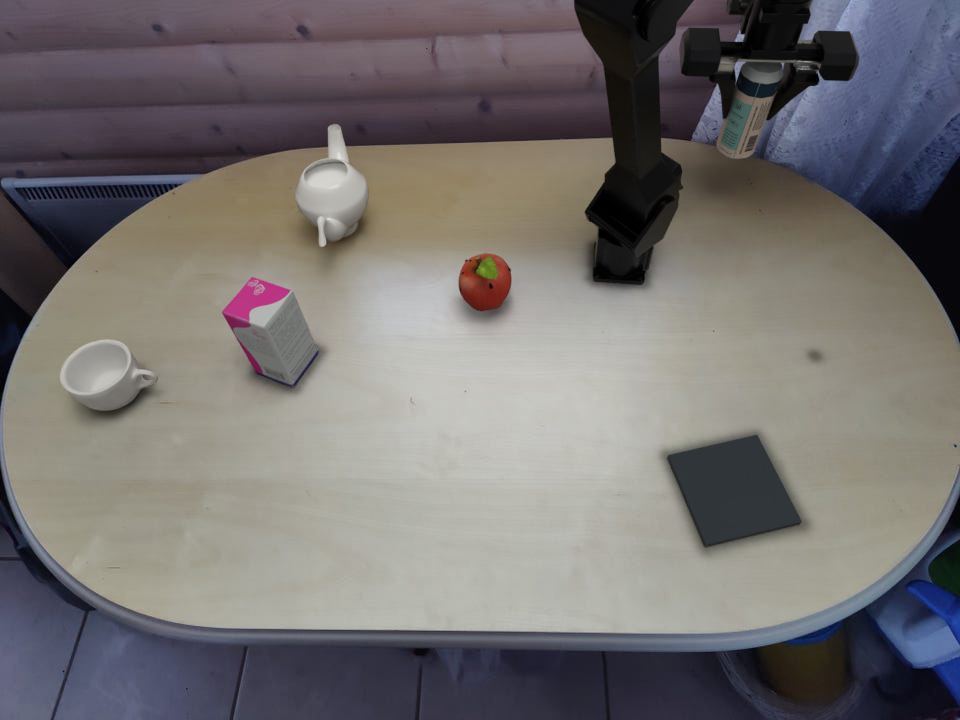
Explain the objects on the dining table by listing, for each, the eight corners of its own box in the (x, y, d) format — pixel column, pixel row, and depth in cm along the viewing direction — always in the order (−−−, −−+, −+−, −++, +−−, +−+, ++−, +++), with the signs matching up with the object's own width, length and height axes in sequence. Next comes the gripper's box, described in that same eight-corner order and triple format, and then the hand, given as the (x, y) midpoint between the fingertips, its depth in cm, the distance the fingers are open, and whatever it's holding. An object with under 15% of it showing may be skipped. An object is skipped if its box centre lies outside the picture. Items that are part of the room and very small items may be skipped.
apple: (447, 301, 86) (439, 245, 78) (488, 273, 88) (484, 216, 80) (487, 337, 82) (484, 283, 74) (528, 306, 85) (529, 251, 76)
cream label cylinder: (755, 142, 89) (788, 55, 79) (751, 165, 86) (784, 78, 76) (717, 135, 90) (745, 48, 80) (712, 157, 87) (741, 71, 77)
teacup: (75, 419, 79) (48, 395, 74) (99, 364, 83) (75, 338, 79) (158, 420, 78) (136, 396, 74) (178, 364, 82) (158, 338, 78)
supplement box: (320, 350, 83) (294, 289, 73) (293, 389, 80) (263, 330, 70) (281, 336, 84) (250, 274, 75) (253, 372, 81) (218, 313, 72)
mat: (704, 547, 67) (706, 545, 66) (667, 457, 72) (668, 454, 72) (800, 523, 68) (802, 521, 67) (755, 436, 73) (757, 434, 73)
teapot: (297, 281, 89) (276, 230, 81) (316, 178, 100) (299, 125, 93) (369, 278, 89) (355, 227, 81) (381, 175, 100) (369, 121, 92)
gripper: (865, -47, 75) (814, 81, 88) (691, -49, 77) (666, 76, 90) (886, 7, 69) (828, 136, 81) (696, 3, 71) (669, 130, 83)
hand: (745, 117), depth 84 cm, fingers closed on cream label cylinder, 5 cm apart
